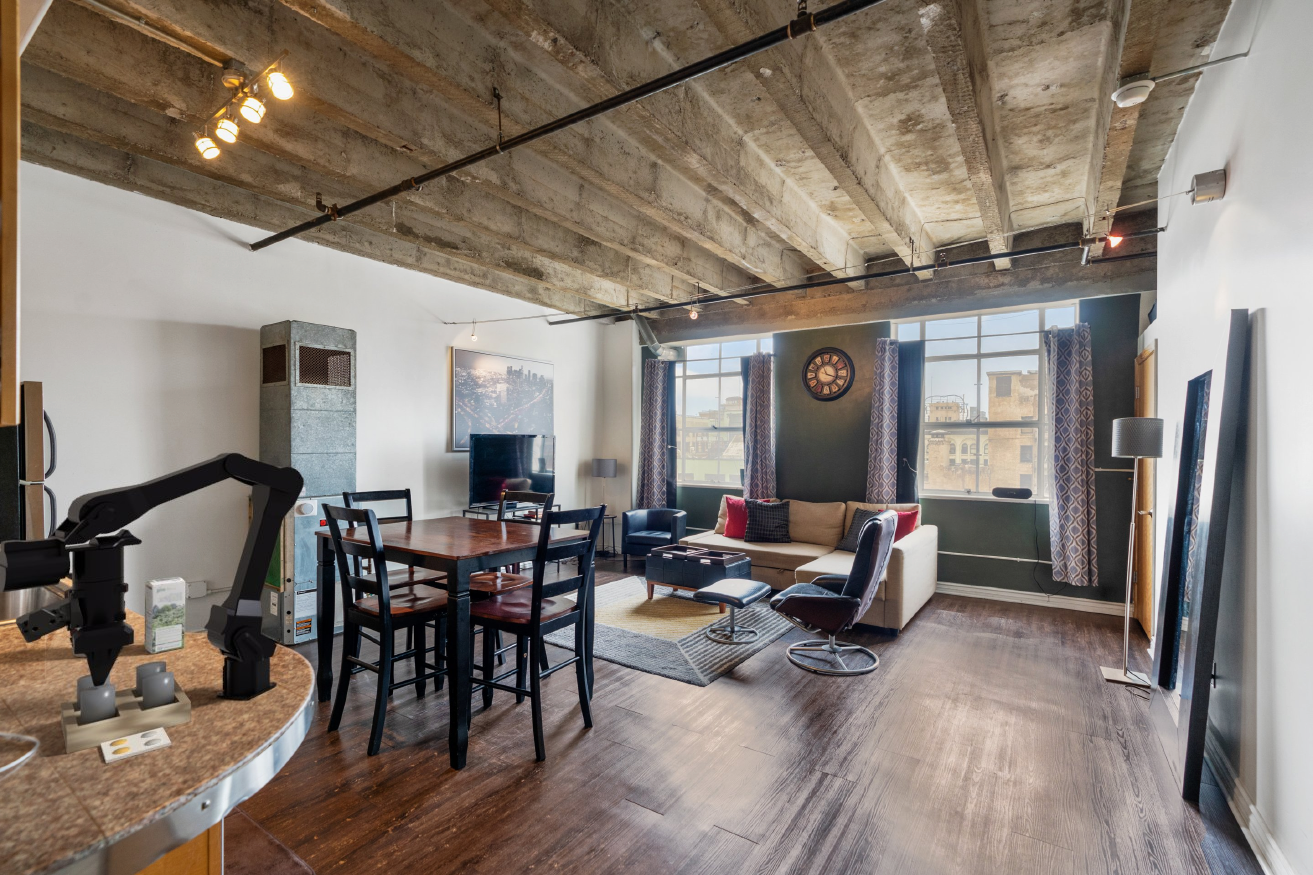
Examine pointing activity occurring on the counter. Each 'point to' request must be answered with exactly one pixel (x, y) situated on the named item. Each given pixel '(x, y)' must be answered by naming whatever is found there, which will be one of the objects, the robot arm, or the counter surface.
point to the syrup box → (164, 614)
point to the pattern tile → (134, 744)
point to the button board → (122, 719)
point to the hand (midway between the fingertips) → (98, 685)
